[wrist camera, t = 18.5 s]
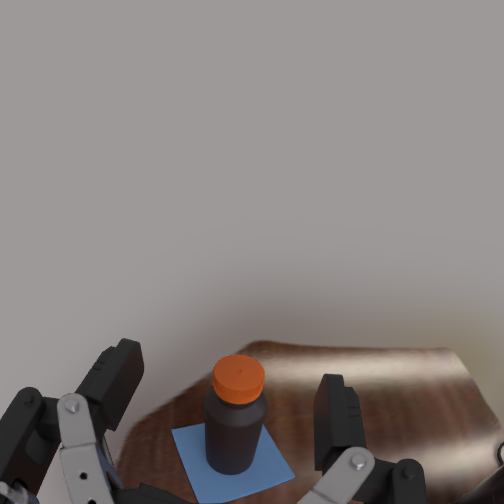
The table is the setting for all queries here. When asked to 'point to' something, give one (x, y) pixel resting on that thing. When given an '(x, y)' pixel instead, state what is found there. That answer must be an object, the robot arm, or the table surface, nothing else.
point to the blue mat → (229, 486)
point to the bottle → (234, 414)
